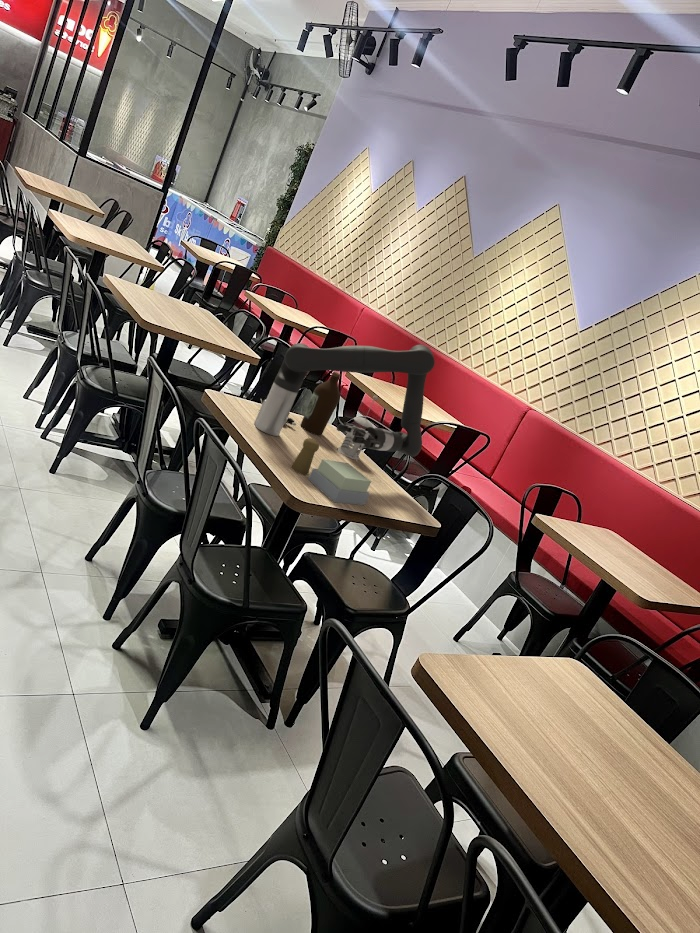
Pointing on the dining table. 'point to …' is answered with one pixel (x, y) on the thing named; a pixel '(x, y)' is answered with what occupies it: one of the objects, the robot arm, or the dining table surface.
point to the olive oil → (322, 405)
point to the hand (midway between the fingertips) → (345, 433)
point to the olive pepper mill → (305, 456)
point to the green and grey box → (341, 482)
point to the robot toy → (287, 419)
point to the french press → (346, 444)
